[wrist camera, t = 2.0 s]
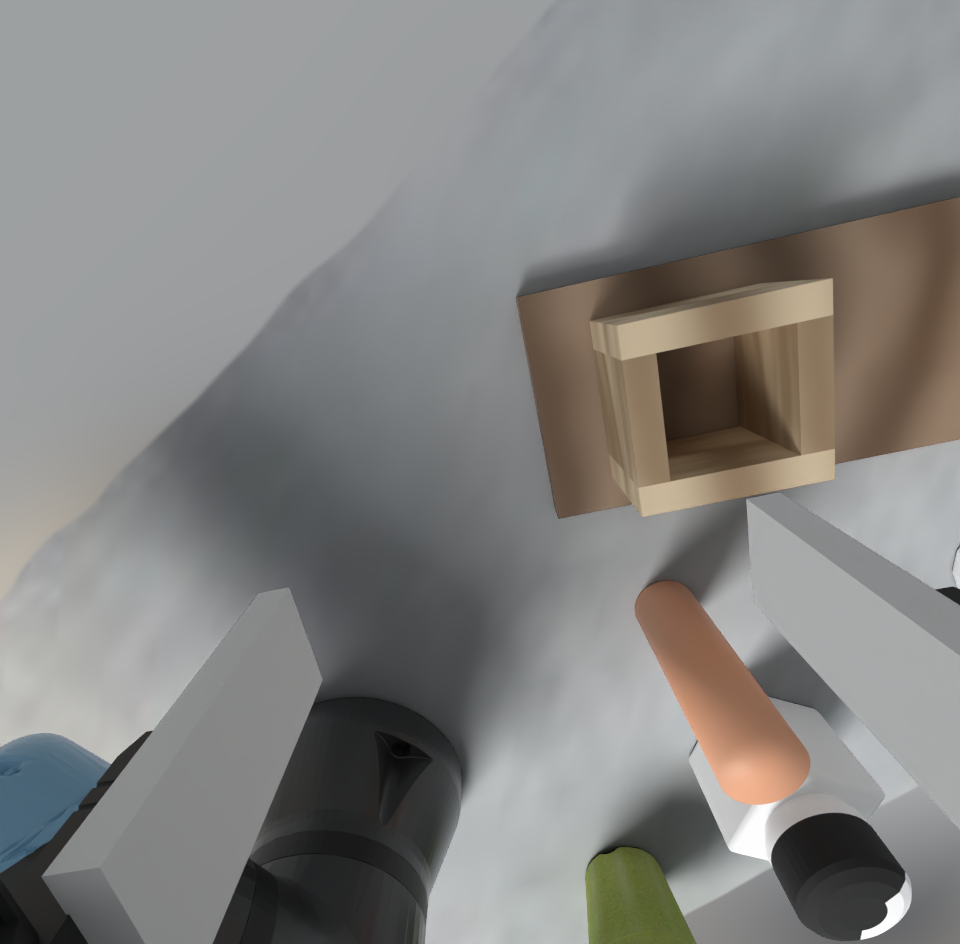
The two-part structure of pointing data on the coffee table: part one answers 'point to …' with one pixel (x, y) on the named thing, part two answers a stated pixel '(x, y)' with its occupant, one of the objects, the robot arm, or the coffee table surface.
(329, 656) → the coffee table surface
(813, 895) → the medicine bottle
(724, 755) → the dowel
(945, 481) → the coffee table surface
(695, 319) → the open wooden box
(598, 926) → the plant pot
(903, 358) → the board
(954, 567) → the white cup
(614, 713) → the coffee table surface
